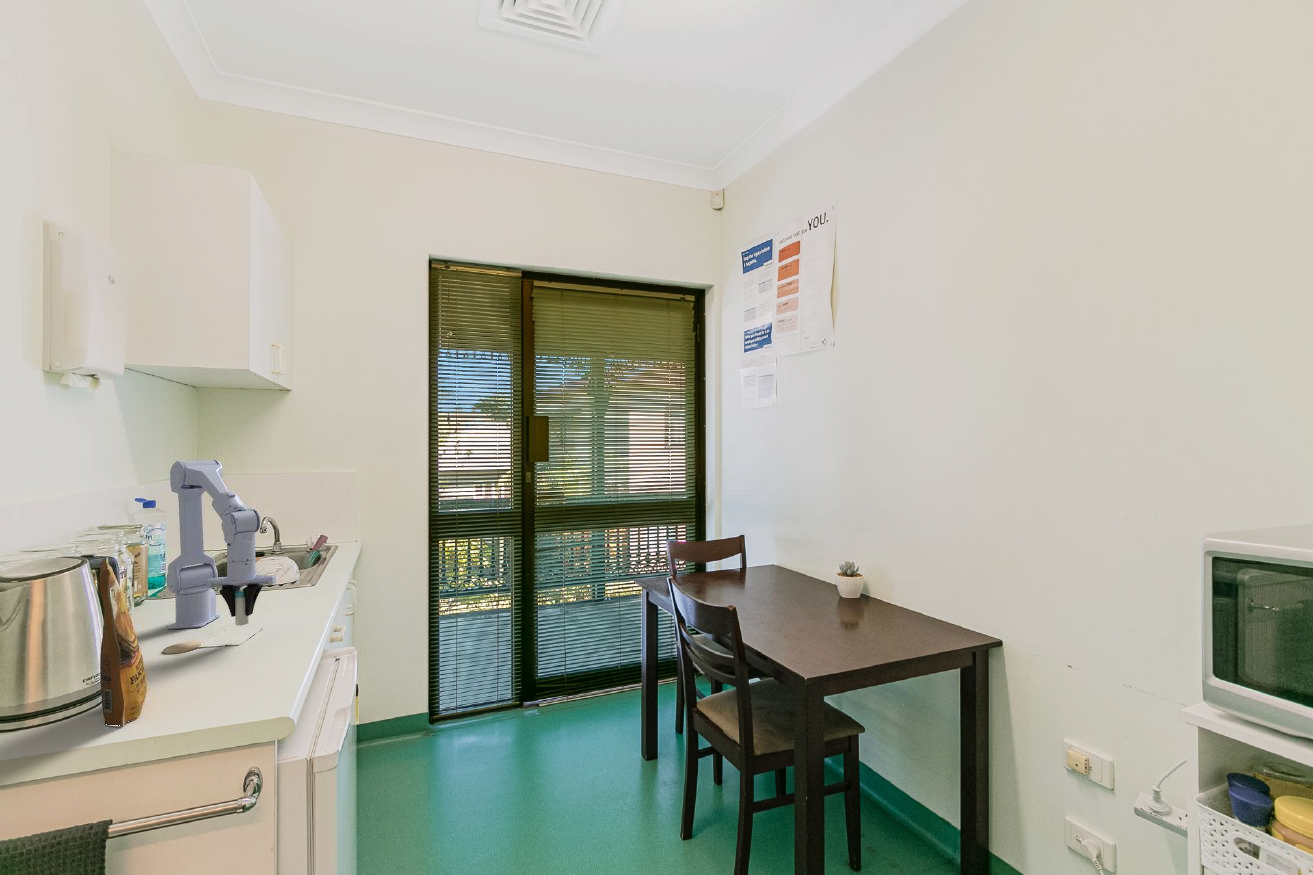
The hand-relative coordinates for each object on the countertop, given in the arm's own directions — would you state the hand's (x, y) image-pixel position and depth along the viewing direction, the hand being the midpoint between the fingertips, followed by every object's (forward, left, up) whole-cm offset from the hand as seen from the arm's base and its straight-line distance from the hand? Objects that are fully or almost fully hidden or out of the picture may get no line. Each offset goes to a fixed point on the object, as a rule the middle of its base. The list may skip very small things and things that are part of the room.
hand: (242, 615), depth 146 cm
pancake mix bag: (+37, -3, -7) cm, 38 cm away
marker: (0, 0, -2) cm, 2 cm away
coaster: (+3, -11, -6) cm, 13 cm away
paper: (-2, -3, -6) cm, 8 cm away
